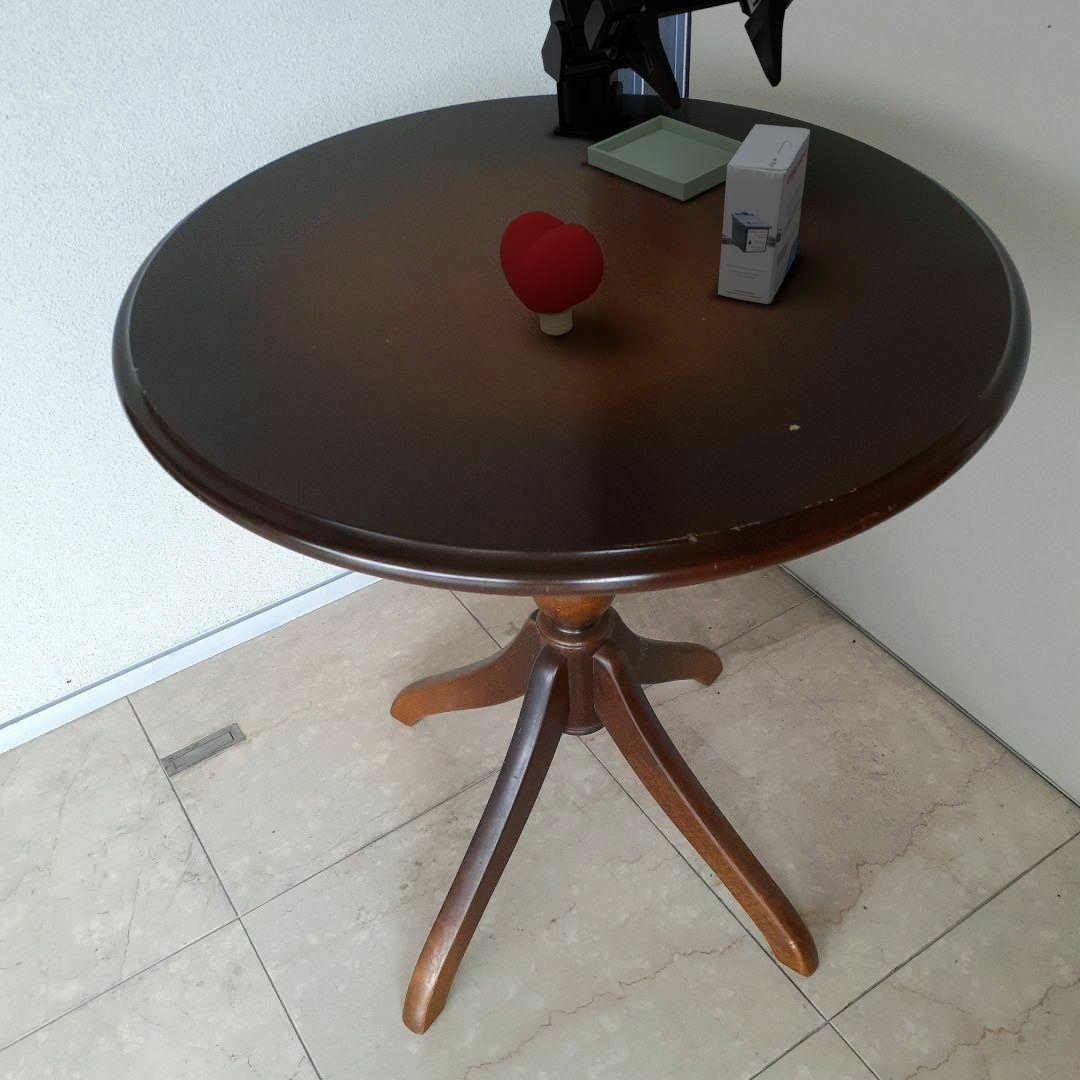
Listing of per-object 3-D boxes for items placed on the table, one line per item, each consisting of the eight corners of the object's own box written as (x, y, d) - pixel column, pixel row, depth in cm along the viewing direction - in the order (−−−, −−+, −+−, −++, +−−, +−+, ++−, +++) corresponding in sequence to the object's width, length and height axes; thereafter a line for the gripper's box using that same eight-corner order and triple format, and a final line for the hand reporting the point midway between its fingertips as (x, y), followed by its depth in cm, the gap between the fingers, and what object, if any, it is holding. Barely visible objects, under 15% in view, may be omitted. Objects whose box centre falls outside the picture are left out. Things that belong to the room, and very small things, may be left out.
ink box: (744, 250, 93) (753, 120, 85) (800, 258, 92) (813, 126, 84) (716, 297, 88) (722, 163, 80) (774, 306, 86) (786, 170, 78)
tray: (588, 163, 110) (587, 147, 108) (660, 131, 114) (660, 114, 113) (683, 201, 101) (683, 184, 100) (757, 164, 106) (758, 147, 105)
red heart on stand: (488, 335, 86) (473, 224, 80) (544, 300, 90) (535, 190, 83) (571, 372, 81) (562, 257, 75) (627, 333, 85) (624, 220, 78)
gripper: (590, -132, 76) (654, 67, 76) (812, -171, 80) (874, 18, 79) (559, -38, 87) (615, 137, 87) (755, -76, 91) (810, 91, 90)
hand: (728, 95), depth 85 cm, fingers open, 9 cm apart
